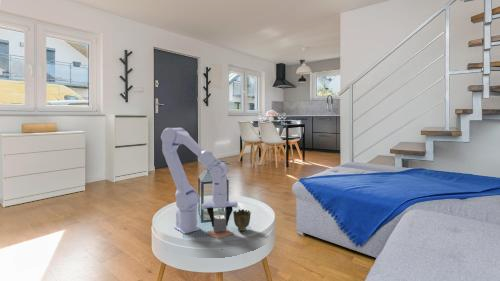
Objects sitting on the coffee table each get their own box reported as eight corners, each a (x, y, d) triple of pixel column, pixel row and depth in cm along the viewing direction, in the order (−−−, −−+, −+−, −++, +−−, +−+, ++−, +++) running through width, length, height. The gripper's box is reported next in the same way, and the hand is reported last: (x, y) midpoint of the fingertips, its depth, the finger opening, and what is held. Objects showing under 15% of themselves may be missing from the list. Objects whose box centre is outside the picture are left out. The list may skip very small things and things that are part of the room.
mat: (206, 233, 117) (206, 231, 117) (222, 228, 122) (222, 227, 122) (217, 239, 111) (217, 237, 111) (233, 233, 116) (233, 232, 116)
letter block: (214, 231, 114) (213, 219, 113) (213, 227, 118) (212, 215, 118) (226, 230, 115) (226, 218, 114) (224, 226, 119) (224, 214, 119)
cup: (239, 235, 114) (239, 215, 114) (229, 229, 120) (229, 211, 120) (254, 231, 119) (254, 212, 118) (244, 225, 125) (244, 208, 124)
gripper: (235, 189, 121) (235, 220, 122) (201, 191, 118) (201, 223, 118) (238, 193, 114) (238, 226, 115) (201, 195, 111) (202, 229, 112)
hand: (219, 225), depth 116 cm, fingers closed on letter block, 5 cm apart
